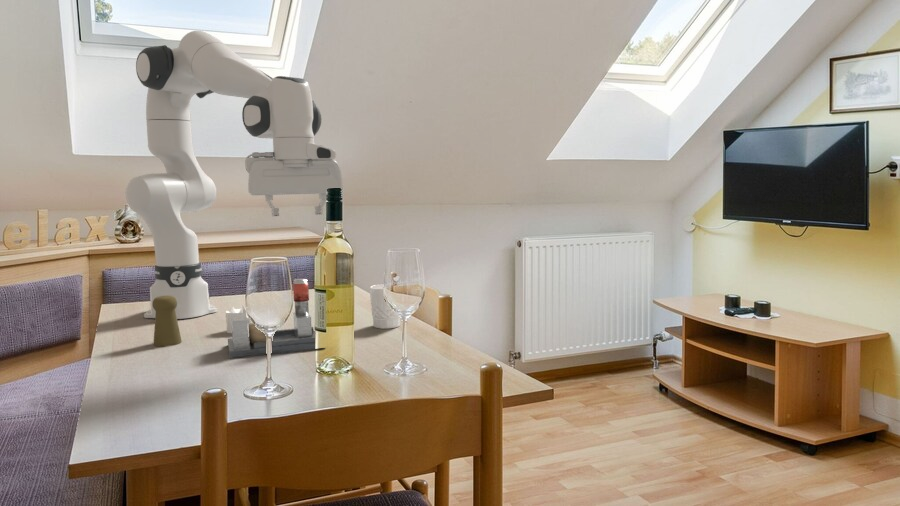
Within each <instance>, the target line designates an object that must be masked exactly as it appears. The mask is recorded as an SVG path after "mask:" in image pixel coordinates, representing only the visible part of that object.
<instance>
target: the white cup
mask: <svg viewBox="0 0 900 506" xmlns="http://www.w3.org/2000/svg"><path fill="white" fill-rule="evenodd" d="M384 284H385V283H382V284H374V285H371V286H369V293H370V306H371V316H372V321H373V324H372V325H373V328H376V329H384V330H385V329H387V330H389V329H395V328H398V327H400V326H401V317H400V318H399V317H398V316H397V315H396V314H395V313H394V312H393V311H392V310H391V309H390V307H389V306H388V305H387V303H386V302H385V300H384V296H383V287H384Z"/></svg>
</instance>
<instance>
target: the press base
mask: <svg viewBox="0 0 900 506" xmlns="http://www.w3.org/2000/svg"><path fill="white" fill-rule="evenodd" d="M231 320H232V333H231V335H232V337H231V338H230V337H229V338H227V348H228V355H229V359H238V358H248V357H257V356H267V355H266V342H257V343H254V344H250V341H249V329H248V323H247V317H246V314H245V313H236V314H231ZM311 327H312V337H307V338H296V336H295V334H294V328H287V329H276V330H277V331H276V332H275V334H274V336H273V341H272V354H271V355H277V354H288V353H297V352H305V351H315V331H314V327H313V326H311Z"/></svg>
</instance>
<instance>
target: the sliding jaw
mask: <svg viewBox="0 0 900 506" xmlns="http://www.w3.org/2000/svg"><path fill="white" fill-rule="evenodd" d="M292 292H293V293H292V296H293V302H294V312H293V313H292V314H293V329H294V334H295V336H296V338H307V337H312V327H313V326H312V316H311V315H310V312H309V311H310V310H309V301H310V291H309V282H308V278H295V279H293V282H292Z"/></svg>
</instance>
